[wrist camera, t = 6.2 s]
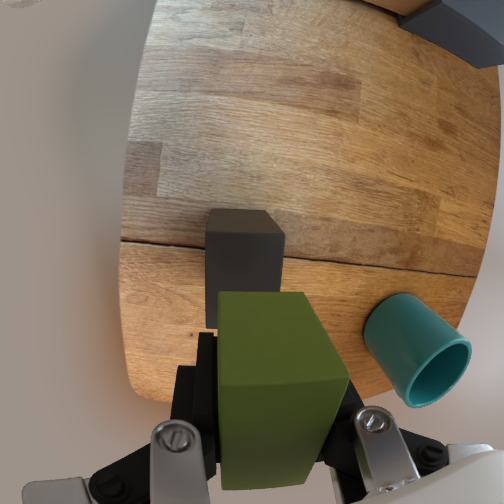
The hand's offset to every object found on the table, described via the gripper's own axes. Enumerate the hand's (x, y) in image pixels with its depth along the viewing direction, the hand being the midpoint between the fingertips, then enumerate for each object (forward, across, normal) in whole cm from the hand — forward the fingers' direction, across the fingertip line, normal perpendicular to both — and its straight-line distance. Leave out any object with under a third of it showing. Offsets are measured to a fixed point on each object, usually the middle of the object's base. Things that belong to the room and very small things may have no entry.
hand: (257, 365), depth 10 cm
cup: (+18, -20, +12) cm, 29 cm away
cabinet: (+18, -24, -32) cm, 44 cm away
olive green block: (0, 0, 0) cm, 0 cm away
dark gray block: (+18, 0, +1) cm, 18 cm away
